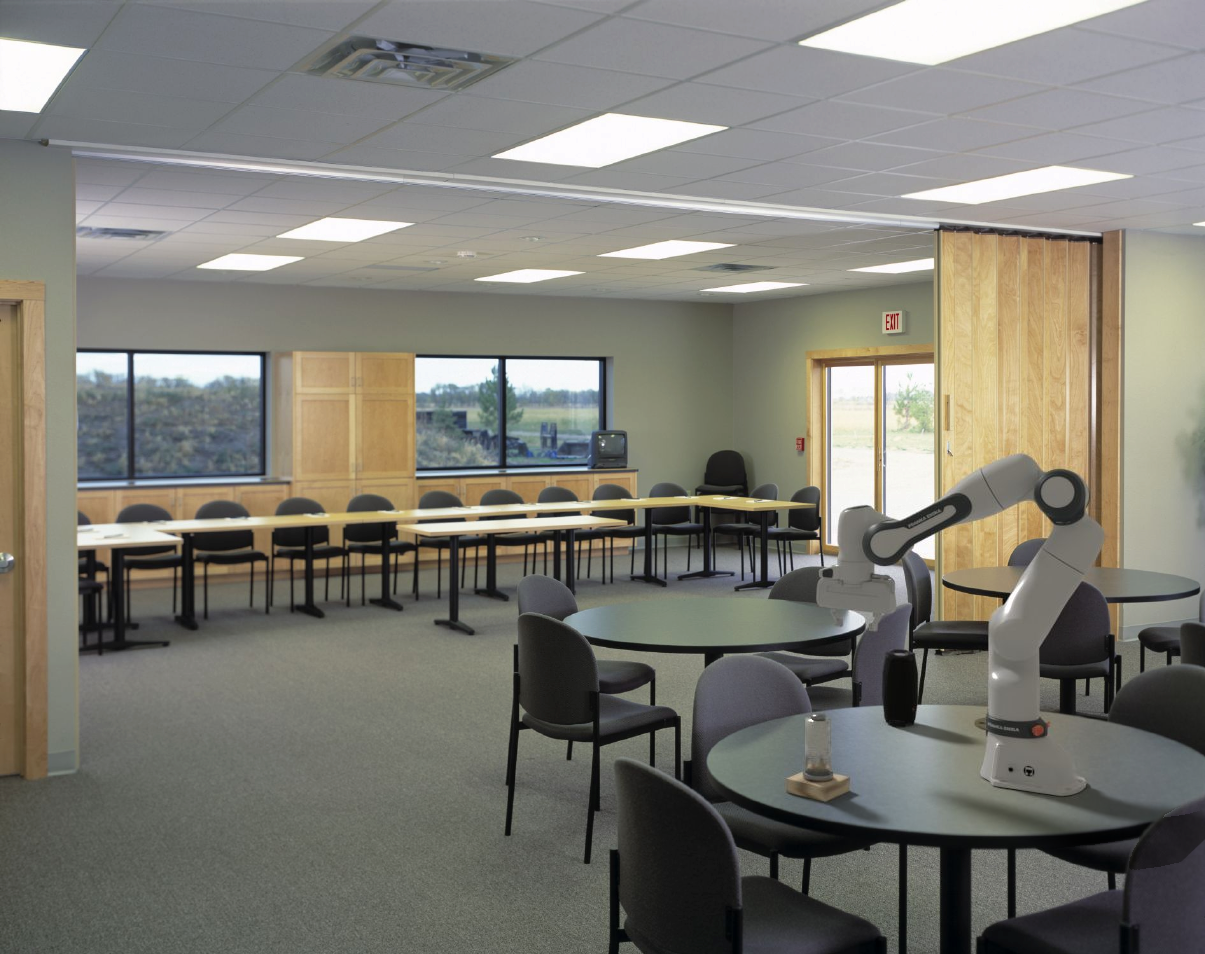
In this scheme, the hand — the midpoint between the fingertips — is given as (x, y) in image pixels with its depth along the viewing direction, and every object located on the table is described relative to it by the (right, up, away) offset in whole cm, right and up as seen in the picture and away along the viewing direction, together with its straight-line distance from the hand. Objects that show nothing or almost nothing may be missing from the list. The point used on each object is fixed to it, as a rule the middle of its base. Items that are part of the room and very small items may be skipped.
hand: (855, 628), depth 279 cm
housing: (-14, -29, -26) cm, 42 cm away
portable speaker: (+19, -30, +31) cm, 47 cm away
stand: (-14, -32, -26) cm, 44 cm away
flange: (+46, -30, +28) cm, 61 cm away
